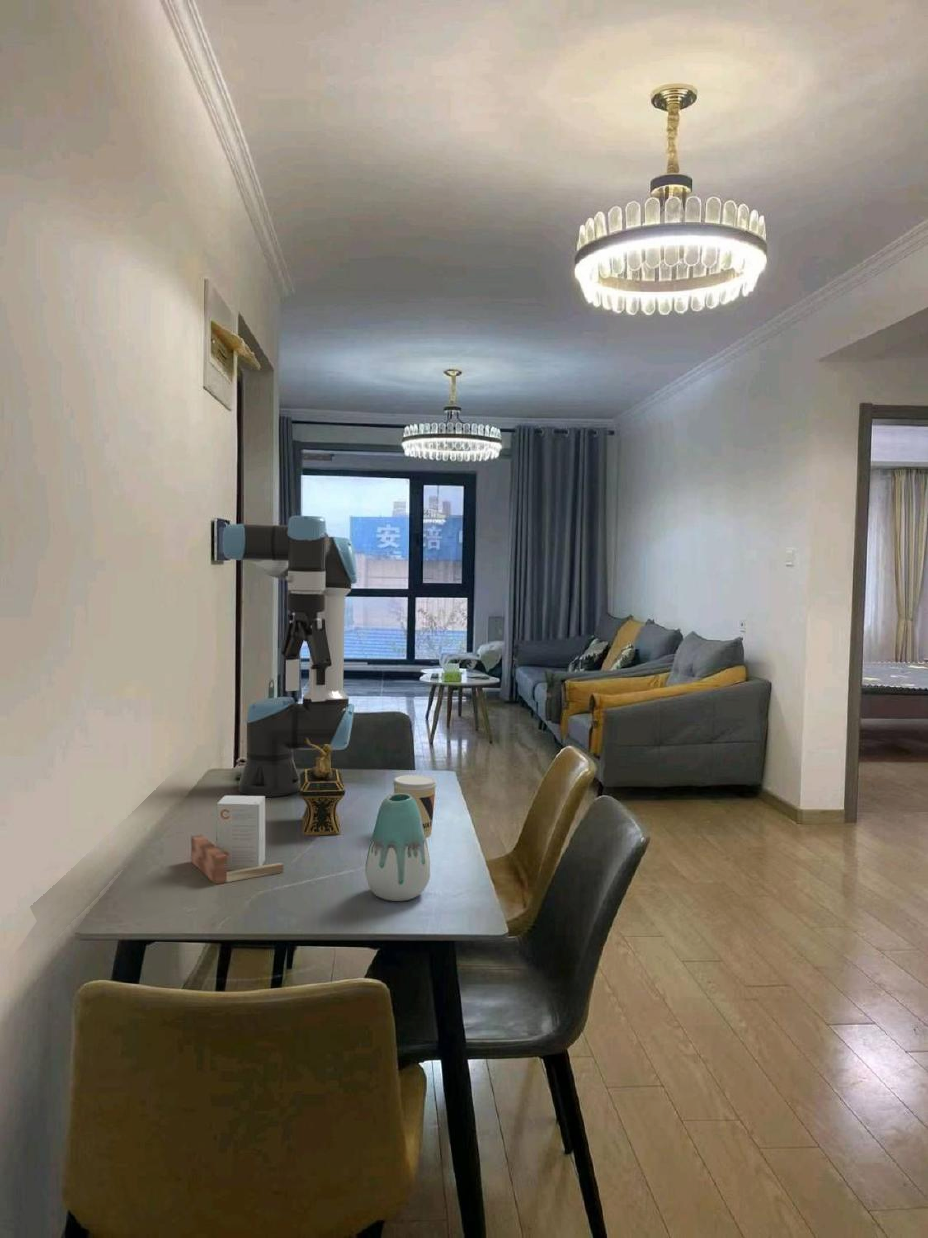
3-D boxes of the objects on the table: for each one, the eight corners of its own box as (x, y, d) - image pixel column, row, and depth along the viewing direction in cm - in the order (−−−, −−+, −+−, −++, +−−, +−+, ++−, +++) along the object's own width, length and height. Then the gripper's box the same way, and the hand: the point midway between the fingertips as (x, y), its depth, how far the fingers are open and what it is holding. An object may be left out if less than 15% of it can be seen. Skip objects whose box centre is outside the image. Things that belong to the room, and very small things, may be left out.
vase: (376, 910, 158) (378, 806, 157) (356, 887, 169) (358, 790, 167) (439, 902, 163) (442, 801, 162) (416, 880, 173) (418, 785, 172)
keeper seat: (191, 861, 180) (191, 836, 180) (255, 851, 188) (255, 826, 187) (215, 884, 169) (216, 857, 168) (283, 872, 176) (283, 846, 175)
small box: (265, 860, 182) (266, 795, 181) (258, 871, 176) (259, 804, 175) (223, 860, 182) (224, 794, 181) (215, 871, 176) (216, 803, 175)
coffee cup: (429, 842, 197) (430, 786, 196) (386, 838, 199) (387, 782, 198) (439, 829, 206) (440, 776, 205) (398, 826, 208) (399, 773, 207)
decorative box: (298, 816, 213) (299, 731, 212) (340, 815, 215) (341, 731, 214) (298, 843, 193) (299, 750, 192) (345, 842, 195) (346, 749, 194)
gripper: (266, 588, 197) (265, 687, 199) (313, 596, 176) (312, 707, 178) (299, 588, 201) (298, 685, 203) (349, 596, 180) (347, 704, 182)
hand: (305, 695), depth 190 cm, fingers open, 13 cm apart
